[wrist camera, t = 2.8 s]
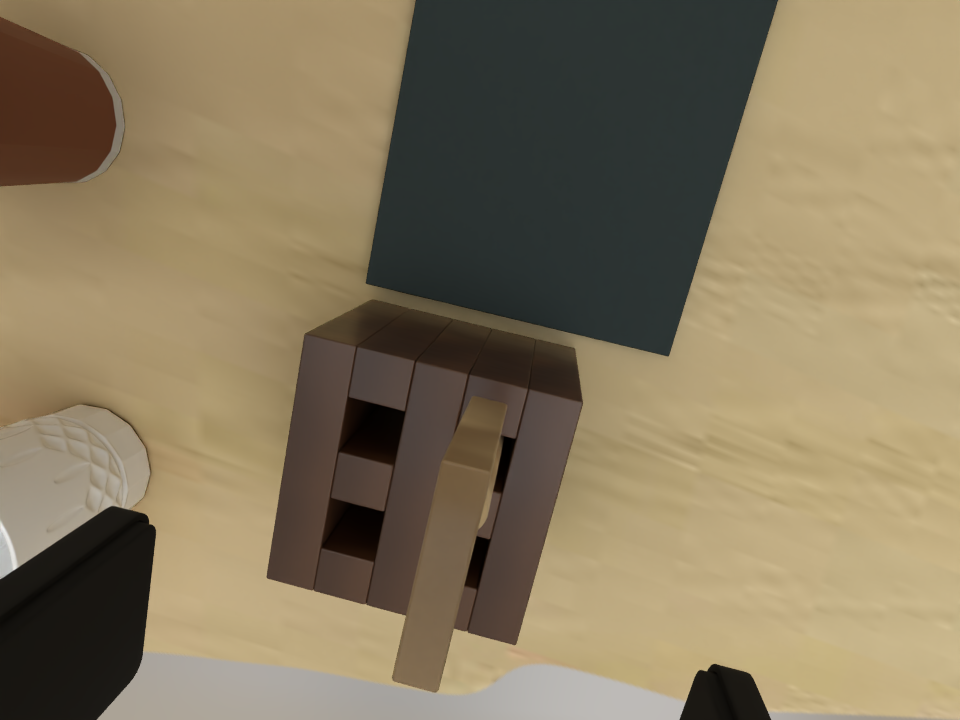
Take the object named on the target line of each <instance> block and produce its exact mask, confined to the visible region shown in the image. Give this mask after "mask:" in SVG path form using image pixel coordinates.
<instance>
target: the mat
mask: <svg viewBox="0 0 960 720" xmlns="http://www.w3.org/2000/svg"><path fill="white" fill-rule="evenodd" d="M777 2H778V0H416V3H415V9H414V15H413V20H412V26H411V31H410V37H409V43H408V48H407V54H406V59H405V65H404V71H403V76H402V82H401V88H400V93H399V99H398V104H397V110H396V116H395V121H394V127H393V133H392V138H391V144H390V149H389V155H388V161H387V166H386V172H385V178H384V183H383V189H382V194H381V200H380V206H379V211H378V217H377V223H376V228H375V234H374V239H373V245H372V251H371V256H370V262H369V267H368V273H367V279H366V284H370V285H374V286H378V287H383V288H387V289H391V290H395V291H399V292H403V293H408V294H412V295H416V296H420V297H424V298H428V299H432V300H437V301H441V302H445V303H449V304H453V305H457V306H461V307H466V308H470V309H474V310H478V311H482V312H486V313H491V314H495V315H499V316H503V317H507V318H511V319H515V320H520V321H524V322H528V323H532V324H536V325H540V326H545V327H549V328H553V329H557V330H561V331H565V332H569V333H574V334H578V335H582V336H586V337H590V338H594V339H598V340H603V341H607V342H611V343H615V344H619V345H623V346H628V347H632V348H636V349H640V350H644V351H648V352H652V353H657V354H661V355H665V356H669V354H670V351H671V347H672V344H673V341H674V337H675V334H676V331H677V328H678V324H679V321H680V318H681V315H682V311H683V308H684V305H685V302H686V298H687V295H688V292H689V289H690V285H691V282H692V279H693V276H694V272H695V269H696V266H697V263H698V259H699V256H700V253H701V249H702V246H703V243H704V240H705V236H706V233H707V230H708V227H709V223H710V220H711V217H712V214H713V210H714V207H715V204H716V201H717V197H718V194H719V191H720V188H721V184H722V181H723V178H724V175H725V171H726V168H727V165H728V161H729V158H730V155H731V152H732V148H733V145H734V142H735V139H736V135H737V132H738V129H739V126H740V122H741V119H742V116H743V113H744V109H745V106H746V103H747V100H748V96H749V93H750V90H751V86H752V83H753V80H754V77H755V73H756V70H757V67H758V64H759V60H760V57H761V54H762V51H763V47H764V44H765V41H766V38H767V34H768V31H769V28H770V25H771V21H772V18H773V15H774V12H775V8H776V5H777Z"/></svg>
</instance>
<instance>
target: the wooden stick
mask: <svg viewBox="0 0 960 720" xmlns="http://www.w3.org/2000/svg"><path fill="white" fill-rule="evenodd" d="M506 411H507V404H505V403H501V402H497V401H493V400H489V399H485V398H481V397H477V396H472V398H471V400H470V402H469V404H468V406H467V408H466V410H465V412H464V414H463V416H462V419H461V421H460V423H459V425H458V427H457V429H456V431H455V433H454V436H453V438H452V440H451V442H450V444H449V446H448V448H447V450H446V453H445V455H444V457H443V459H442V461H441V465H440V469H439V473H438V478H437V482H436V487H435V491H434V495H433V500H432V504H431V509H430V513H429V517H428V522H427V526H426V530H425V535H424V539H423V544H422V548H421V552H420V557H419V561H418V566H417V570H416V574H415V579H414V583H413V588H412V592H411V596H410V601H409V605H408V610H407V614H406V618H405V623H404V627H403V631H402V636H401V640H400V645H399V649H398V653H397V658H396V662H395V667H394V671H393V675H392V679H393V681H395V682H398V683H402V684H406V685H409V686H413V687H416V688H420V689H424V690H427V691H431V692H437V691H438V690H439V686H440V682H441V678H442V674H443V670H444V666H445V662H446V658H447V654H448V650H449V646H450V641H451V637H452V633H453V629H454V625H455V621H456V617H457V613H458V609H459V605H460V601H461V597H462V593H463V589H464V585H465V581H466V576H467V572H468V568H469V564H470V560H471V556H472V552H473V548H474V544H475V540H476V536H477V532H478V529H479V528H481V527H482V526H483V524H484V523H485V521H486V519H487V516H488V512H489V508H490V503H491V498H492V494H493V489H494V484H495V479H496V475H497V470H498V465H499V461H500V456H501V451H502V447H503V442H504V437H505V436H502V435H501V432H502V428H503V424H504V419H505V415H506Z"/></svg>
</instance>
